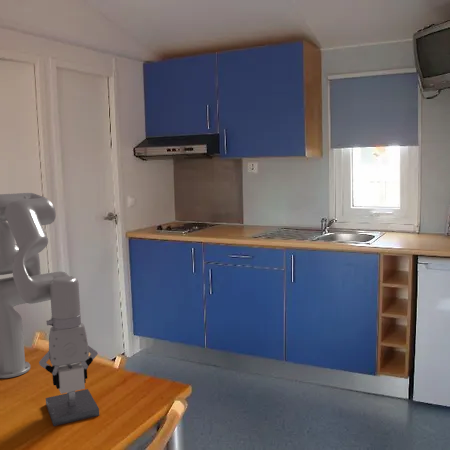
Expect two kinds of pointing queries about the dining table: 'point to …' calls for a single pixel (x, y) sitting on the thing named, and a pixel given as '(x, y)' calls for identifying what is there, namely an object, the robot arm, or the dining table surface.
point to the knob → (71, 377)
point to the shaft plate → (71, 407)
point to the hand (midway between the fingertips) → (70, 383)
